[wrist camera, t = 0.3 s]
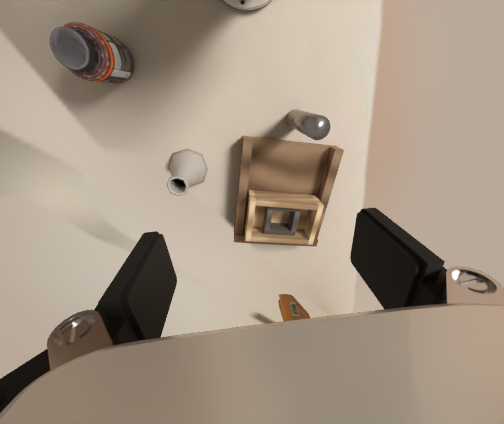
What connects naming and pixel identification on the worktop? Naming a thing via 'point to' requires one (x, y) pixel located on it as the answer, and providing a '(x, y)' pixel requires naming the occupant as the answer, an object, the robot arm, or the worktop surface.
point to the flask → (186, 171)
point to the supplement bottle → (91, 53)
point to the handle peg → (309, 124)
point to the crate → (282, 217)
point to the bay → (284, 174)
